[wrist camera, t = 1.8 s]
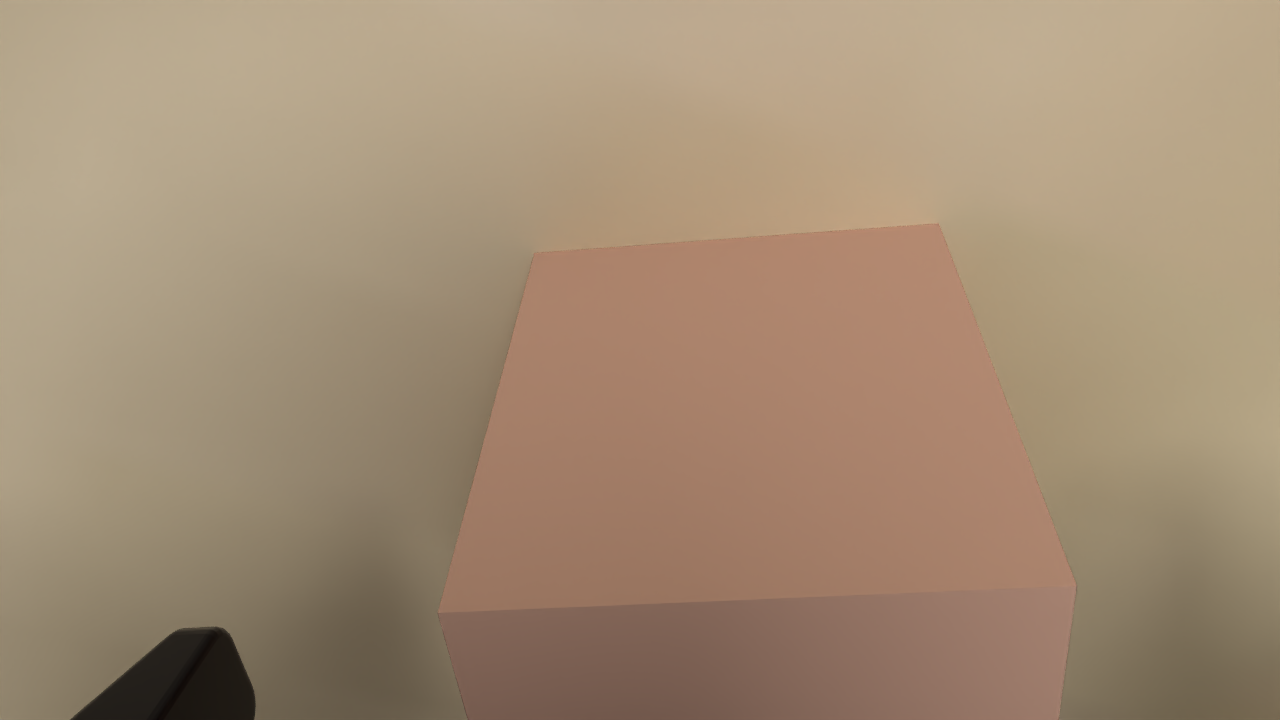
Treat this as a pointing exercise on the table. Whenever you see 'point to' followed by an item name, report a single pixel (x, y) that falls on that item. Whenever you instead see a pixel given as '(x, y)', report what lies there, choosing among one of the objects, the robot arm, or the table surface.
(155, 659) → the robot arm
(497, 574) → the peg block
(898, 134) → the table surface
